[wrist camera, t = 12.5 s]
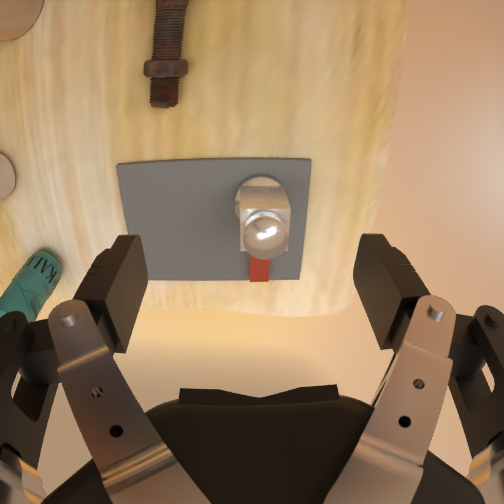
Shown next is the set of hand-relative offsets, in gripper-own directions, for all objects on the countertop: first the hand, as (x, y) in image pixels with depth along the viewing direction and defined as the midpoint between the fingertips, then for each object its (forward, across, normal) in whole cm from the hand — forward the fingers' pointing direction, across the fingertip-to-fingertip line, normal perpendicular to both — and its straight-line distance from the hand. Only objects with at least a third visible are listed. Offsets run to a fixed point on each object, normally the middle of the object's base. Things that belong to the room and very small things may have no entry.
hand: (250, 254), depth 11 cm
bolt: (+29, +8, -10) cm, 31 cm away
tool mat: (+28, +4, +14) cm, 32 cm away
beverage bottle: (+28, +32, +20) cm, 47 cm away
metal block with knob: (+25, -2, +10) cm, 27 cm away
